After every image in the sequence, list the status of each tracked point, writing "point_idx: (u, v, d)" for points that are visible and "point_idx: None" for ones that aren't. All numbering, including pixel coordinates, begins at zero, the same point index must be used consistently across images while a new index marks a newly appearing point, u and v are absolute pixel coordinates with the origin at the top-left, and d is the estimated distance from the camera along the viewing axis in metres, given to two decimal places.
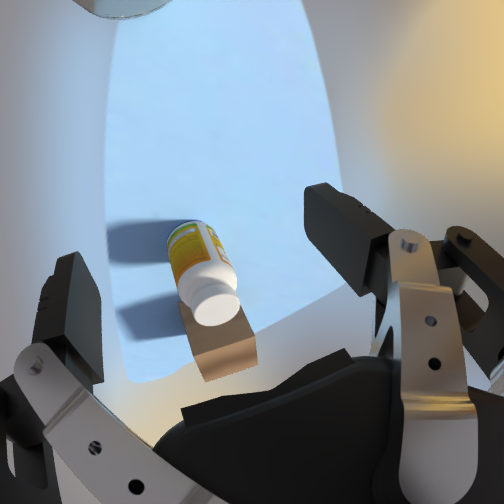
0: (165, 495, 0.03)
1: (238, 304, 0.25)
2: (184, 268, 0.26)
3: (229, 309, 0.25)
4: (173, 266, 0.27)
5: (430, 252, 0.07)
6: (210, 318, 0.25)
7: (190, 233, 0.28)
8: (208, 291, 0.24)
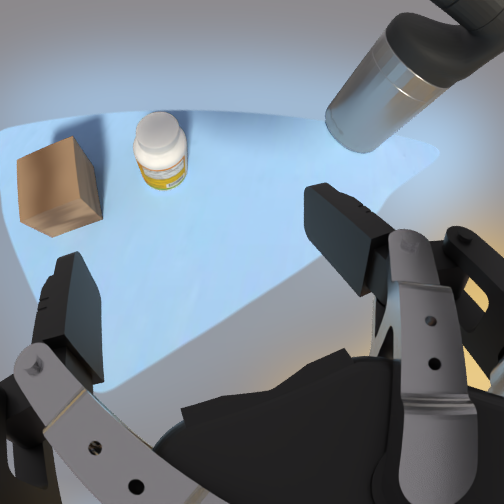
0: (164, 495, 0.03)
1: (161, 145, 0.25)
2: None
3: (155, 139, 0.25)
4: None
5: (430, 252, 0.07)
6: (148, 124, 0.25)
7: None
8: None
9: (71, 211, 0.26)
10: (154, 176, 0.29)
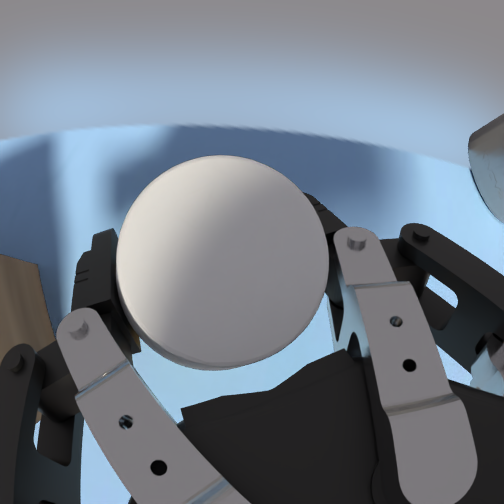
0: (186, 481, 0.03)
1: (258, 354, 0.05)
2: None
3: (226, 318, 0.05)
4: None
5: (377, 250, 0.07)
6: (177, 229, 0.05)
7: None
8: None
9: None
10: None
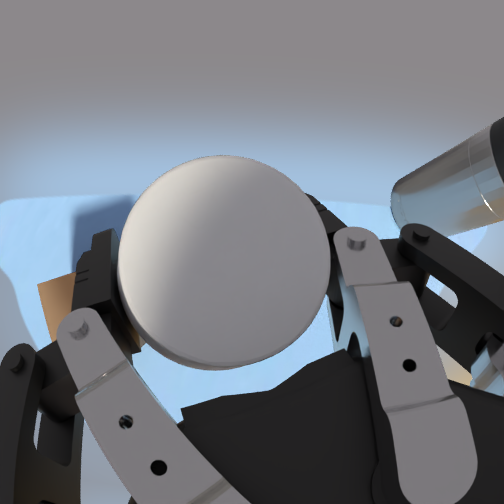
0: (185, 481, 0.03)
1: (259, 354, 0.05)
2: None
3: (228, 318, 0.05)
4: None
5: (377, 250, 0.07)
6: (178, 229, 0.05)
7: None
8: None
9: None
10: None
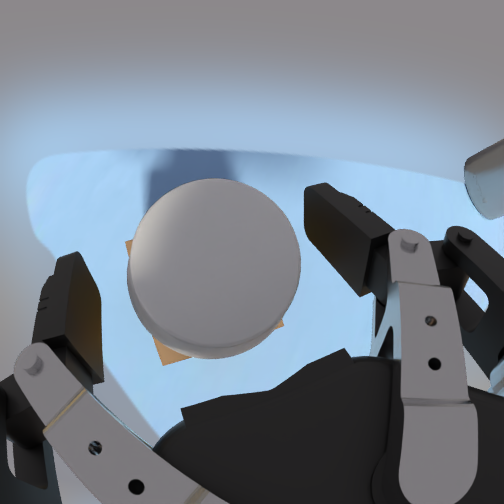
0: (165, 495, 0.03)
1: (242, 338, 0.07)
2: None
3: (216, 308, 0.07)
4: None
5: (430, 252, 0.07)
6: (177, 238, 0.07)
7: None
8: None
9: None
10: None
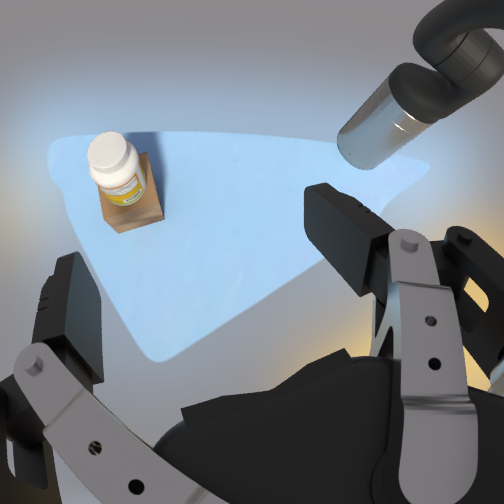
0: (165, 495, 0.03)
1: (108, 165, 0.25)
2: None
3: (104, 159, 0.25)
4: None
5: (430, 252, 0.07)
6: (99, 145, 0.25)
7: (143, 171, 0.33)
8: (127, 143, 0.26)
9: (146, 212, 0.37)
10: (109, 193, 0.29)
